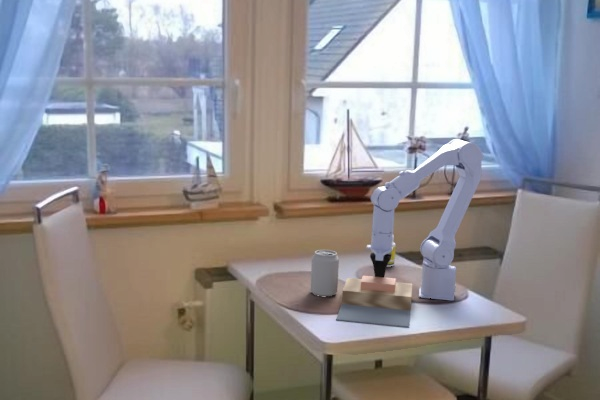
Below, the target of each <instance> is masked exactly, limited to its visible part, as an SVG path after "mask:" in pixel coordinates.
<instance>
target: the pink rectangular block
mask: <svg viewBox="0 0 600 400" xmlns="http://www.w3.org/2000/svg"><path fill="white" fill-rule="evenodd" d="M361 279H362V280H361V289H367V290H377V291H388V292H395V286H396V282H397V278H395V277H385V276H384V277H375V275H374V276H372V275H362V277H361Z"/></svg>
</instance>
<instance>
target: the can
mask: <svg viewBox="0 0 600 400" xmlns="http://www.w3.org/2000/svg"><path fill="white" fill-rule="evenodd" d="M339 264H340V258H339V256H338V253H337V251H334V250H331V249H318V250H315V251H314V254H313V255H312V256H311V271H310V272H311V273H310V289H309V290H310V292H311V293H312V294H313V295H314V294H315V295H314V296H316V295H319V296H331V297H333V296H332V295H334V296H335V294H337V293H338V287H339V270H340V269H339V268H340V267H339V266H340V265H339ZM319 296H318V297H319Z"/></svg>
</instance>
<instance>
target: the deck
mask: <svg viewBox="0 0 600 400" xmlns="http://www.w3.org/2000/svg"><path fill="white" fill-rule="evenodd" d="M361 280H362V278H354V277H347V278H346V280H345V283H344V286H343V288H342V293H341V294H342V297H341V305H342V304H348V305H359V306H369V307H379V308H390V309H400V310H410V311H411V306H412V298H411V297H412V294H413V283H411V282H410V283H409V282H401V281H400V282H398V281H396V286H395V292H388V291H377V290H367V289H361Z"/></svg>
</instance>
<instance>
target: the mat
mask: <svg viewBox="0 0 600 400" xmlns="http://www.w3.org/2000/svg"><path fill="white" fill-rule="evenodd" d="M410 318H411V309H410V310H400V309H390V308H379V307H369V306H359V305H348V304H342V303H341V305H340V307H339V311H338V313H337V316H336V319H335V320H336V321H340V322H350V323H360V324H370V325H378V326H380V325H381V326H387V327H401V328H410V320H411V319H410Z"/></svg>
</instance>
